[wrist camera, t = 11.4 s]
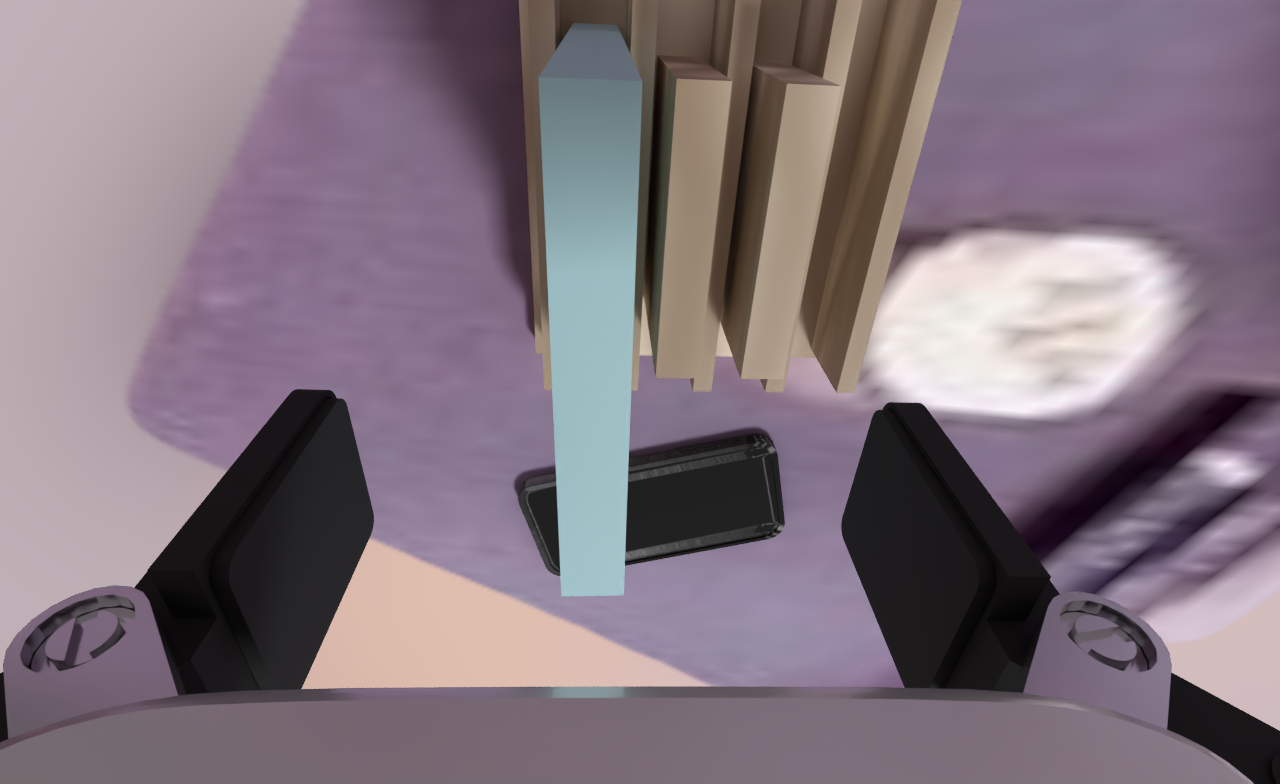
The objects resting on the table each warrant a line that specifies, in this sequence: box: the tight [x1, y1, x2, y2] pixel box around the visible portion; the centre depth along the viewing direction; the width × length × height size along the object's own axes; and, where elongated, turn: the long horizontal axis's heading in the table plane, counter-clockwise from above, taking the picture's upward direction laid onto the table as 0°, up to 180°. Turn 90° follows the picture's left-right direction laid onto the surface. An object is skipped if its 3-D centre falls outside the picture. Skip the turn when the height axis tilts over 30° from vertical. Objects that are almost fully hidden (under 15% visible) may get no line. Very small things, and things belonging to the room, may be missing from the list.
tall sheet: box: [538, 23, 642, 596], centre depth 20 cm, size 2×12×16 cm, turn 178°
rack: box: [519, 0, 962, 393], centre depth 25 cm, size 15×16×5 cm
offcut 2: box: [720, 60, 841, 379], centre depth 24 cm, size 2×10×7 cm, turn 177°
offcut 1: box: [644, 55, 732, 378], centre depth 24 cm, size 2×10×7 cm, turn 178°
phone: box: [519, 434, 785, 576], centre depth 38 cm, size 8×1×15 cm
